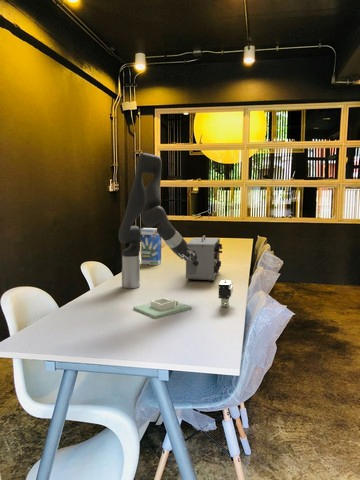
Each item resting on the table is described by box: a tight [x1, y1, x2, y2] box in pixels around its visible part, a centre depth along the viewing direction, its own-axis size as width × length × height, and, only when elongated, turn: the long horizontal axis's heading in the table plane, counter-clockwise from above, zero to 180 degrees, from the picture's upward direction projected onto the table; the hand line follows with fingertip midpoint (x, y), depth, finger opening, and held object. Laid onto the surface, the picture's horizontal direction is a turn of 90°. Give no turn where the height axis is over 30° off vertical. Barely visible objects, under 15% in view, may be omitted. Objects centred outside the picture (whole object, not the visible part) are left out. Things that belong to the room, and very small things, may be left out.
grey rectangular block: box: [185, 253, 197, 275], centre depth 175 cm, size 4×4×10 cm
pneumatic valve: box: [218, 279, 234, 308], centre depth 166 cm, size 6×12×12 cm, turn 166°
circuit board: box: [133, 297, 193, 319], centre depth 163 cm, size 20×16×4 cm
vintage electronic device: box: [185, 235, 223, 283], centre depth 225 cm, size 32×18×25 cm, turn 168°
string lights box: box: [140, 227, 162, 266], centre depth 266 cm, size 13×8×26 cm, turn 73°
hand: (194, 264), depth 177 cm, fingers closed on grey rectangular block, 3 cm apart
